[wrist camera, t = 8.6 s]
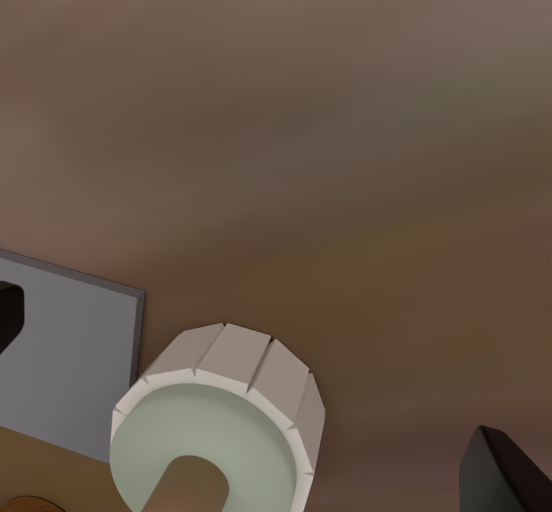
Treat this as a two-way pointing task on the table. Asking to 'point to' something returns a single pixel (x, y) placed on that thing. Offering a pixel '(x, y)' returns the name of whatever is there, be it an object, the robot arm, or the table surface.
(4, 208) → the table surface
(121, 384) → the coaster
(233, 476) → the lid
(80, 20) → the table surface
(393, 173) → the table surface
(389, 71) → the table surface
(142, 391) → the bowl
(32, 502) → the disposable coffee cup
